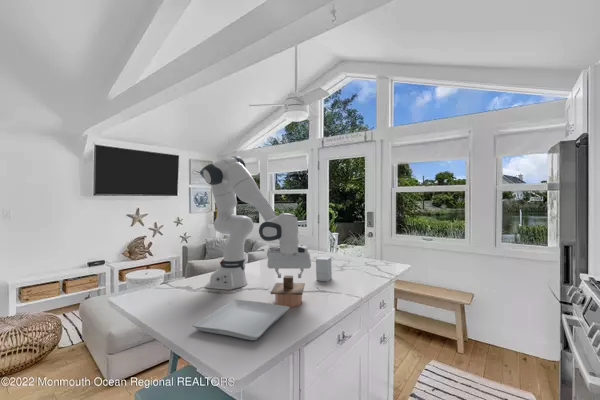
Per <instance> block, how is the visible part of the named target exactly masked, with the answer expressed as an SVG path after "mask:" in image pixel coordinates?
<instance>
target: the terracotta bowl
mask: <svg viewBox="0 0 600 400" xmlns="http://www.w3.org/2000/svg"><path fill="white" fill-rule="evenodd" d="M274 295H275V298H274V301H275V303H274V304H276V305H282V306H288V307H290V308H294V307H298V306H300V305H301V304H302V303H303V294H302V295H286V294H274Z"/></svg>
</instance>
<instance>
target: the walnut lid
mask: <svg viewBox="0 0 600 400" xmlns="http://www.w3.org/2000/svg"><path fill="white" fill-rule="evenodd" d="M282 279H283V280H282V281H283V282H276V283H275V284H274V286H273V288H272V289H271V291H270V295H275V294H286V295H302V296H303V294H304V289H305V285H306V284H305V282H294V275H283V278H282Z"/></svg>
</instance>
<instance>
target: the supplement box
mask: <svg viewBox="0 0 600 400" xmlns="http://www.w3.org/2000/svg"><path fill="white" fill-rule="evenodd" d="M332 274H333V272H332V257H330V256H319V257H317V258H315V276H316V277H315V278H316V281H321V282H329V281H330V280H331V279H333V276H332Z"/></svg>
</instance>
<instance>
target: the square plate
mask: <svg viewBox="0 0 600 400" xmlns="http://www.w3.org/2000/svg"><path fill="white" fill-rule="evenodd" d="M290 308H291V307H288V306H282V305H277V304H276V303H270V302H262V301H253V300H247V299H246V300H245V299H244V300H243V299H233V300H232V301H230V302H228V303H226V304H225V305H223V306H221V307H219V308H218V309H216V310H214V311H212V312H211V313H210V314H208V315H206V316H205V317H203V318H201V319H200V320H198V321H196V322H195V323H193V324H192V327H193V328H195V329H197V330H198V331H201V332H206V333H211V334H217V335H224V336H229V337H234V338H238V339H243V340H249V341H257V339H259V338H260V337H261V336H262V335H263V334H264V333H265V332H266V331H267V330H268V329H269V327H271V326H272V325H273V324H274V323H275V322H276V321H278V320H279V319H280V318H281V317H282V316H284V315H285V313H286V312H287V311H288V310H289V309H290Z"/></svg>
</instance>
